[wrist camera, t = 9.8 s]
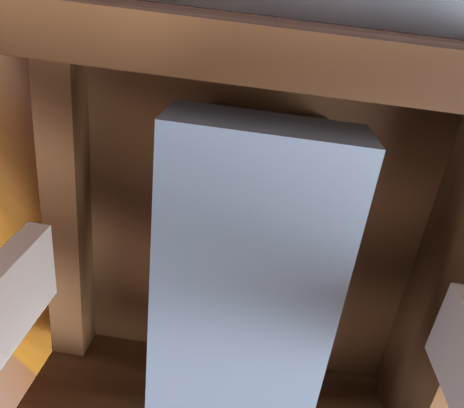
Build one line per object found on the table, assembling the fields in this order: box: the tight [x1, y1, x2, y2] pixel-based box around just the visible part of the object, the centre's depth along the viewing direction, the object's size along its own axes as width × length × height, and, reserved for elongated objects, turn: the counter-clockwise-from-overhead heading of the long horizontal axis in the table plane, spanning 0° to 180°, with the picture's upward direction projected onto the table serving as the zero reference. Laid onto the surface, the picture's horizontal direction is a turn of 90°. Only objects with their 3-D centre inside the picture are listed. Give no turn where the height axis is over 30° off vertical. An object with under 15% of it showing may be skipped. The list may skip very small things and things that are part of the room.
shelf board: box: [145, 99, 386, 408], centre depth 15 cm, size 12×6×2 cm, turn 173°
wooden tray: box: [0, 0, 464, 408], centre depth 17 cm, size 17×17×6 cm
